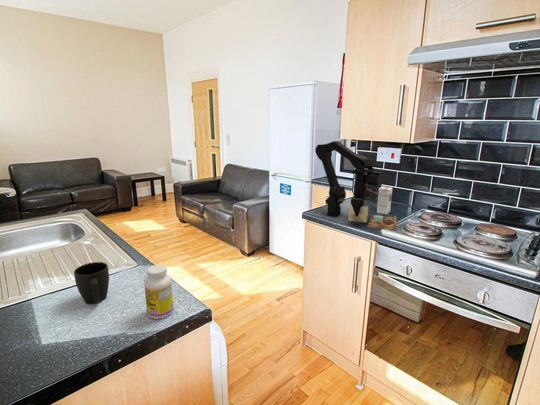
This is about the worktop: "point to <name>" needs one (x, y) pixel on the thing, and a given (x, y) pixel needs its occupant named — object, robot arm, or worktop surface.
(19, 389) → the worktop surface
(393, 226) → the rack
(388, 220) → the small walnut offcut
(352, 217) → the birch board
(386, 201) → the syrup box
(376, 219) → the teal offcut
